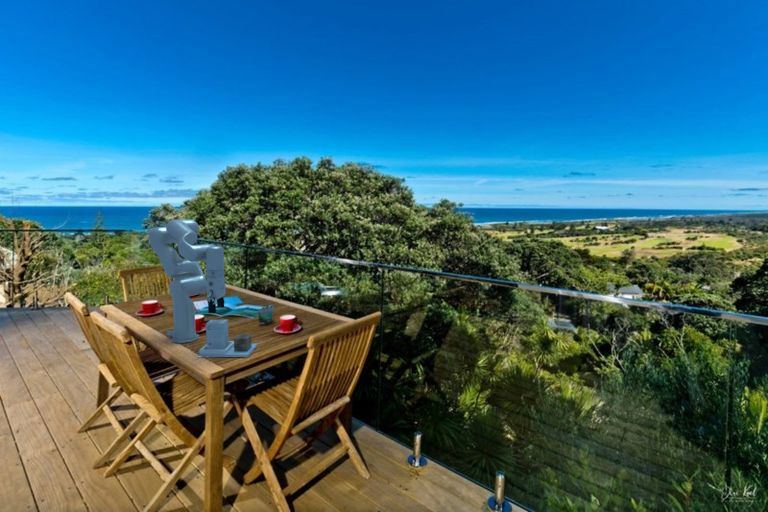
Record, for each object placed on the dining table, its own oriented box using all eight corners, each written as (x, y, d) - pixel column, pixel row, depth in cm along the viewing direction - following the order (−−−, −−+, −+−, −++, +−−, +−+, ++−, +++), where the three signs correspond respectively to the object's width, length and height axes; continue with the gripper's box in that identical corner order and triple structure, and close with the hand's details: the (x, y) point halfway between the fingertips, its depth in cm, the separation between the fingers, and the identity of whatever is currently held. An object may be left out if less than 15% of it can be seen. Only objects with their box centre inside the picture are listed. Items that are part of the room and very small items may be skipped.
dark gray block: (234, 351, 177) (233, 338, 176) (238, 346, 183) (238, 334, 182) (247, 351, 177) (246, 338, 176) (251, 346, 183) (251, 334, 182)
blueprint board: (198, 357, 173) (198, 350, 172) (211, 346, 187) (211, 340, 186) (247, 357, 173) (247, 351, 173) (257, 346, 187) (257, 340, 187)
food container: (267, 327, 217) (267, 309, 216) (257, 326, 218) (257, 308, 217) (278, 320, 229) (277, 304, 228) (268, 319, 230) (268, 303, 229)
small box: (229, 345, 183) (228, 319, 182) (224, 350, 177) (223, 323, 175) (211, 346, 183) (210, 319, 181) (206, 351, 176) (205, 323, 175)
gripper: (215, 276, 166) (217, 315, 169) (230, 270, 184) (231, 305, 186) (198, 276, 166) (199, 315, 169) (214, 269, 183) (216, 304, 186)
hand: (216, 309), depth 177 cm, fingers open, 9 cm apart
